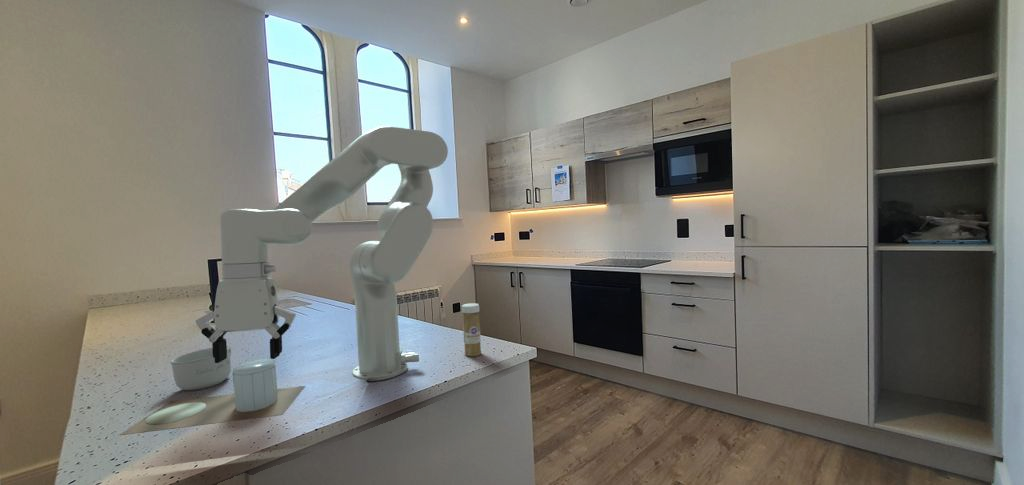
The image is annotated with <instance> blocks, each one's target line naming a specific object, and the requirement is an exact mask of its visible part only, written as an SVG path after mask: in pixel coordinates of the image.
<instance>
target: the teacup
mask: <svg viewBox="0 0 1024 485" xmlns="http://www.w3.org/2000/svg"><path fill="white" fill-rule="evenodd" d="M231 355H232V349H231V347H230V346H229V345H227V358H226V359H225V360H223V361H221V362H220V363H215V358H213V349H212V347H207V348H203V349H198V350H193V351H190V352H188V353H187V352H186V353H184V354H181V355H178V356H176V357H174V358H172V359H171V360H170V364H171V367H172V373H173V374H172V375H173V379H174V382H175V386H177V388H178V389H180V390H184V391H196V390H197V391H198V390H202V389H206V388H211V387H214V386H217V385H218V384H221V383H223V382H224V381H225V380H226V379H227V378H228V377H229V376H230V374H231V371H232V363H231V362H232V361H231Z"/></svg>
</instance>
